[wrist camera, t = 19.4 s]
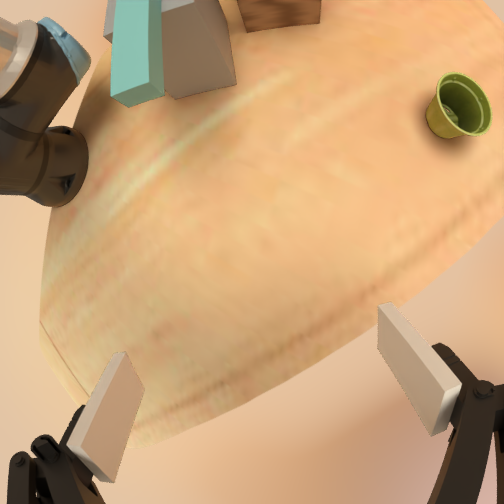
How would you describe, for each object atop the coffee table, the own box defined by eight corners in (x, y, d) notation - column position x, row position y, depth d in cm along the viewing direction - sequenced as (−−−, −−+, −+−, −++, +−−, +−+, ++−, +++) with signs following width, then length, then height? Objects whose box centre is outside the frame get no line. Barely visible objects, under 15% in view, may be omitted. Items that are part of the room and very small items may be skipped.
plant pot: (407, 126, 39) (428, 108, 30) (425, 82, 37) (446, 59, 29) (455, 160, 38) (484, 149, 29) (471, 115, 36) (497, 99, 28)
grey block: (175, 99, 43) (103, 36, 23) (171, 34, 42) (114, -35, 22) (236, 84, 42) (194, 2, 21) (226, 20, 41) (189, -64, 20)
